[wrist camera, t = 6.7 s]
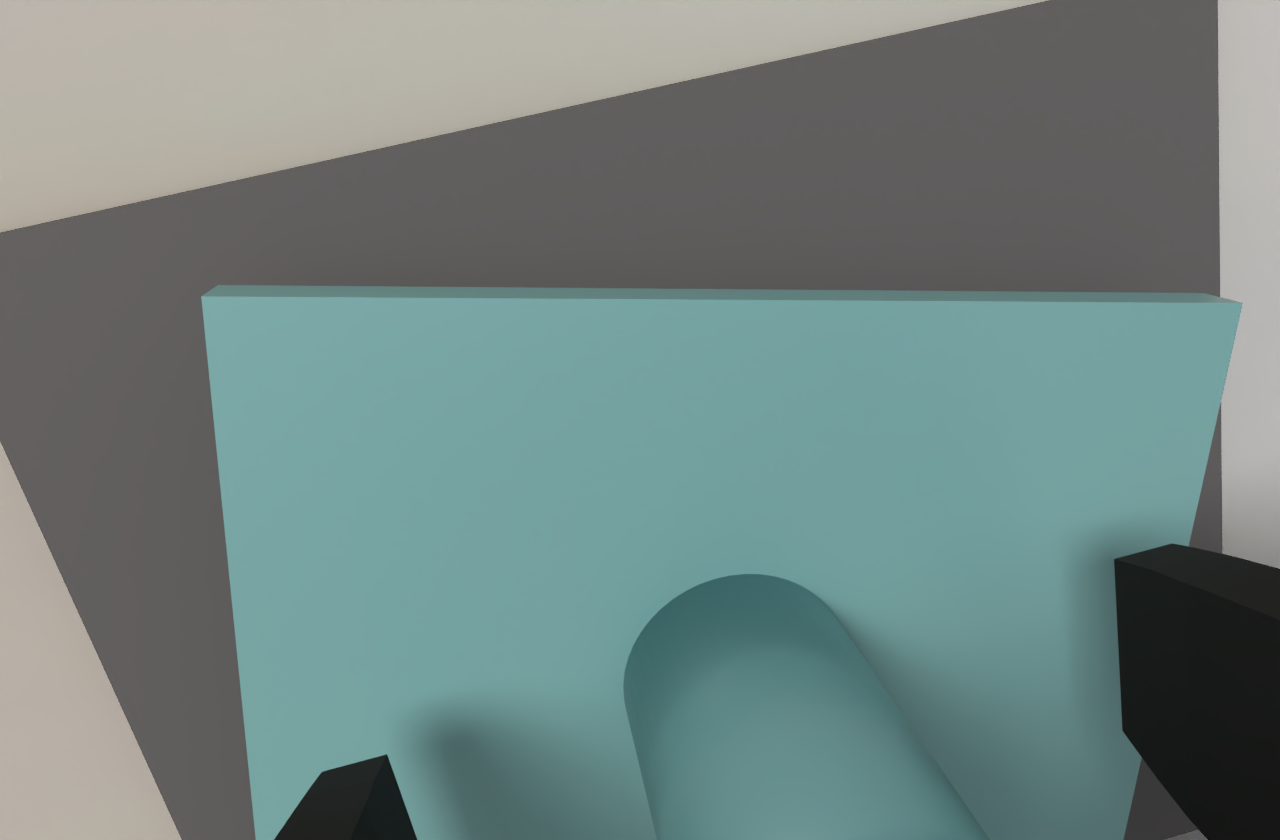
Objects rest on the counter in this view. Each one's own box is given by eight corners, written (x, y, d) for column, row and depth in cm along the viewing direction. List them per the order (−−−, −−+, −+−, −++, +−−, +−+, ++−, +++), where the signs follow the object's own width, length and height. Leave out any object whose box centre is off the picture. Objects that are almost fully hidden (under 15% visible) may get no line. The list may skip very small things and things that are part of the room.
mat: (1192, -32, 11) (1216, -36, 11) (1205, 803, 15) (1224, 821, 15) (-65, 246, 10) (-86, 252, 10) (303, 1069, 14) (298, 1095, 14)
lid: (1158, 280, 12) (1663, 412, 7) (1044, 862, 14) (1351, 1272, 9) (237, 271, 10) (-3, 437, 5) (295, 929, 13) (173, 1470, 8)
